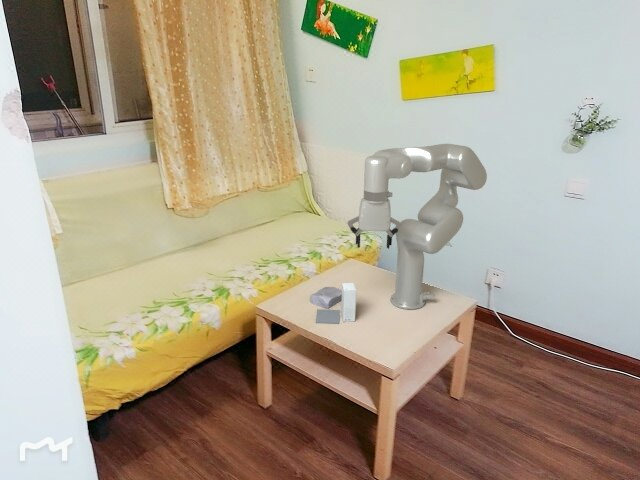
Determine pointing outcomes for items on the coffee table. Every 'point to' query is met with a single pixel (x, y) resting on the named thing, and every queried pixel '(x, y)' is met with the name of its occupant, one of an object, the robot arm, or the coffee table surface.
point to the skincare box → (348, 302)
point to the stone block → (326, 297)
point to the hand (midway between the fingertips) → (373, 246)
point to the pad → (327, 316)
